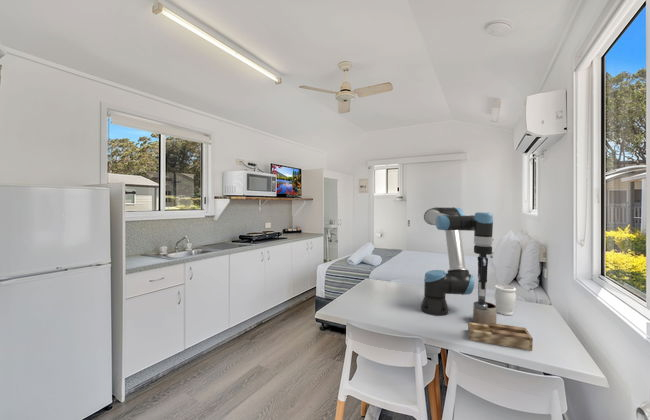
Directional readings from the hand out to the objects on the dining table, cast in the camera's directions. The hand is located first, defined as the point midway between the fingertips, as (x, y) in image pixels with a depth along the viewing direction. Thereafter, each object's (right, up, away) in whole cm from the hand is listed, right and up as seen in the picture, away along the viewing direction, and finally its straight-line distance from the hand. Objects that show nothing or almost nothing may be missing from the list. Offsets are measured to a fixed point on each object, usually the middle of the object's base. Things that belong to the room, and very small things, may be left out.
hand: (481, 294), depth 134 cm
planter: (+11, -20, +17) cm, 29 cm away
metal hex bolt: (0, -7, 0) cm, 7 cm away
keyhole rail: (+6, -20, -2) cm, 22 cm away
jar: (+30, -20, +31) cm, 48 cm away
